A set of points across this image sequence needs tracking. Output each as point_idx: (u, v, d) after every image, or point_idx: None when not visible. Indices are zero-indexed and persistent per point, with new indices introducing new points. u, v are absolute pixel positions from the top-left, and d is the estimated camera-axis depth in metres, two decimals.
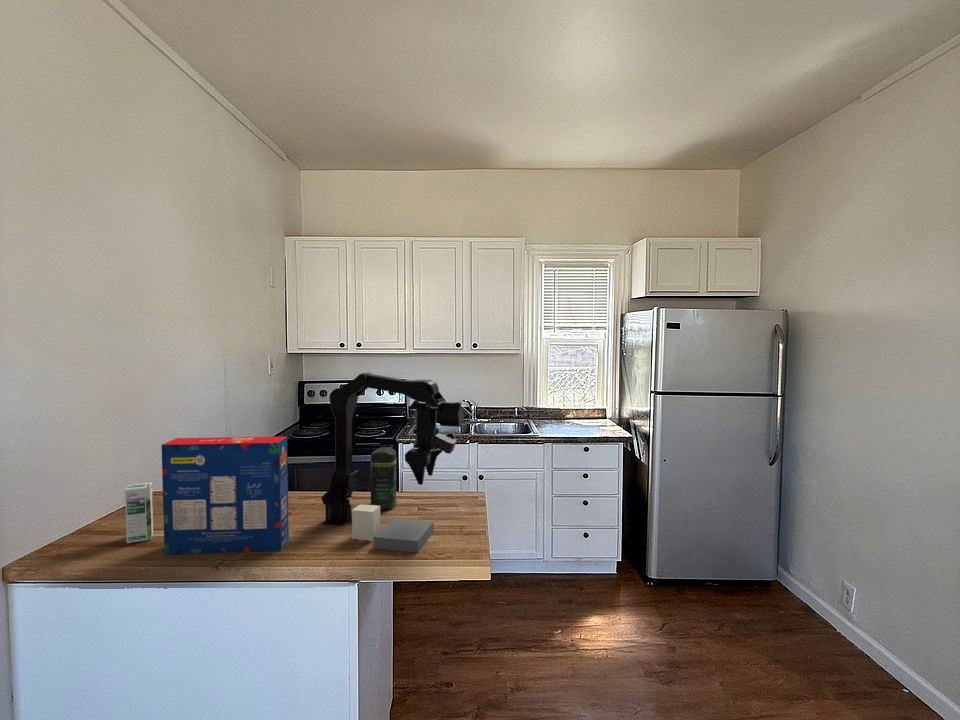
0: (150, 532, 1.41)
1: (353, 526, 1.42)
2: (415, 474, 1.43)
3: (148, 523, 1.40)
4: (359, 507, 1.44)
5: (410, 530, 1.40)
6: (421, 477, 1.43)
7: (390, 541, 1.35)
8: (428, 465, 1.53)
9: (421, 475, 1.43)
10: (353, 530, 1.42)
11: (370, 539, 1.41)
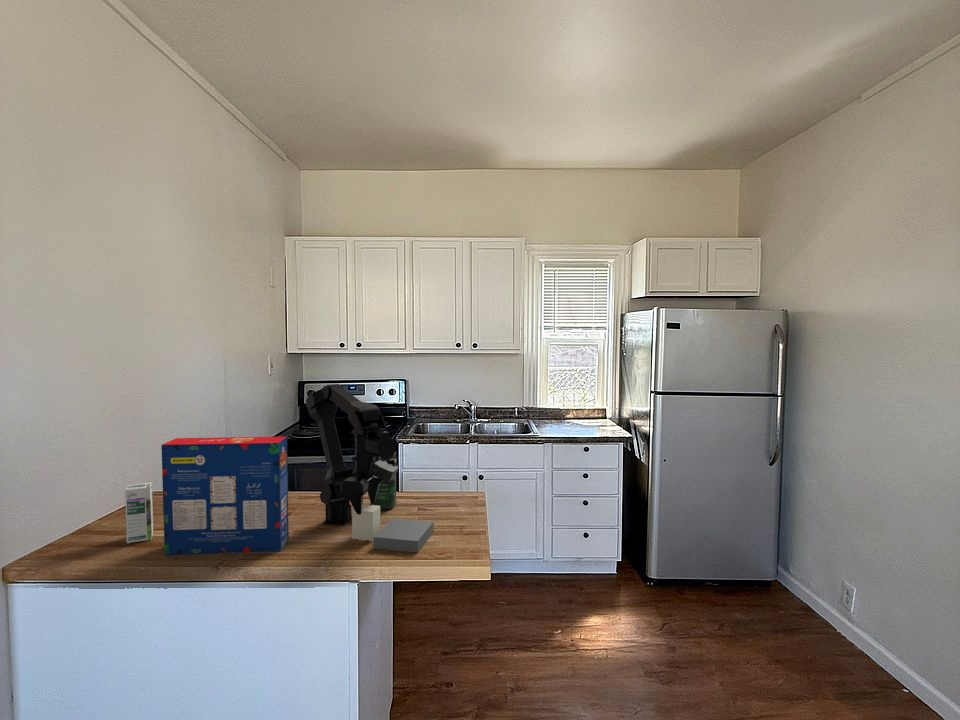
0: (150, 532, 1.41)
1: (353, 526, 1.42)
2: (353, 503, 1.38)
3: (148, 523, 1.40)
4: None
5: (410, 530, 1.40)
6: (359, 507, 1.38)
7: (390, 541, 1.35)
8: (370, 492, 1.48)
9: (359, 505, 1.38)
10: (353, 530, 1.42)
11: (370, 539, 1.41)
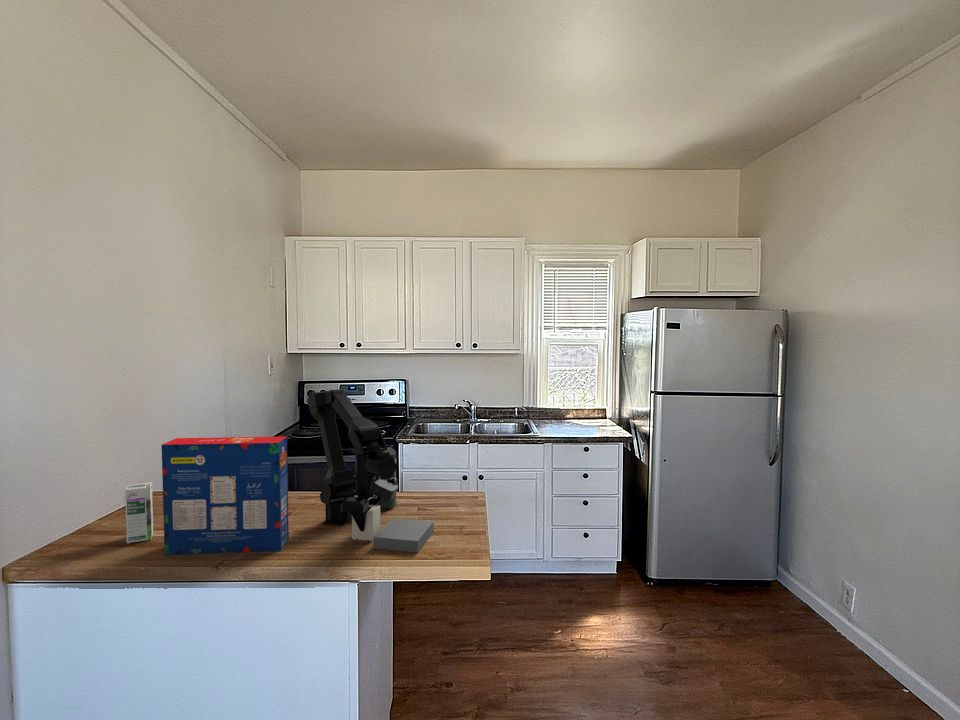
0: (150, 532, 1.41)
1: (353, 526, 1.42)
2: (357, 520, 1.40)
3: (148, 523, 1.40)
4: None
5: (410, 530, 1.40)
6: (362, 524, 1.40)
7: (390, 541, 1.35)
8: None
9: (362, 522, 1.40)
10: (353, 530, 1.42)
11: (370, 539, 1.41)
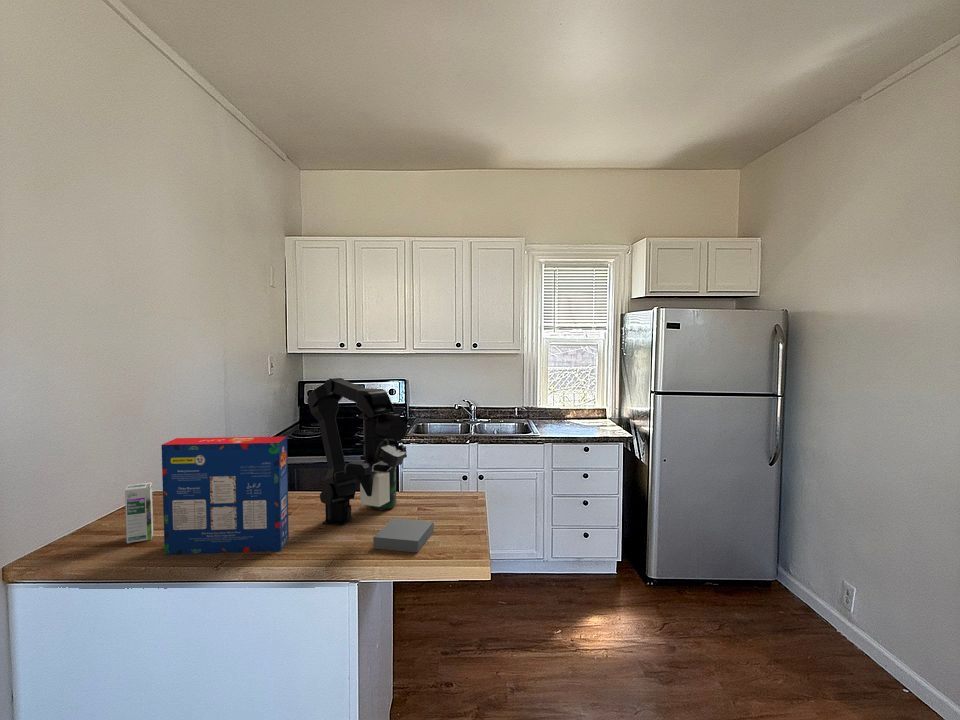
0: (150, 532, 1.41)
1: (361, 491, 1.41)
2: (363, 485, 1.39)
3: (148, 523, 1.40)
4: None
5: (410, 530, 1.40)
6: (368, 489, 1.39)
7: (390, 541, 1.35)
8: None
9: (368, 486, 1.39)
10: (361, 495, 1.41)
11: (376, 505, 1.40)
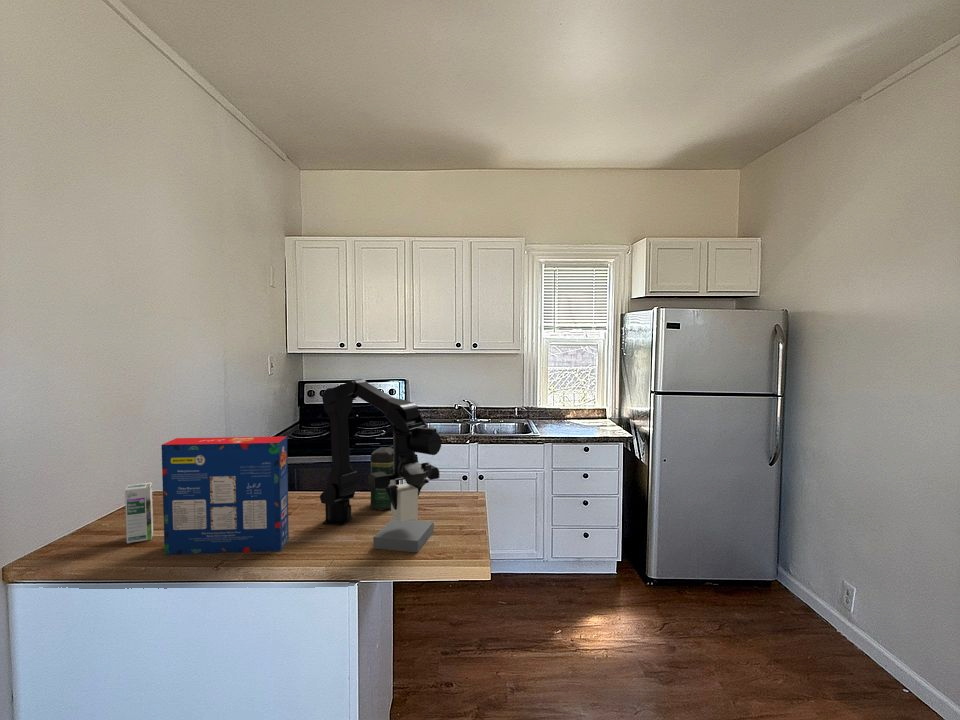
0: (150, 532, 1.41)
1: None
2: (389, 497, 1.40)
3: (148, 523, 1.40)
4: (401, 485, 1.43)
5: (410, 530, 1.40)
6: (393, 502, 1.39)
7: (390, 541, 1.35)
8: None
9: (392, 500, 1.39)
10: (391, 506, 1.42)
11: (399, 519, 1.38)
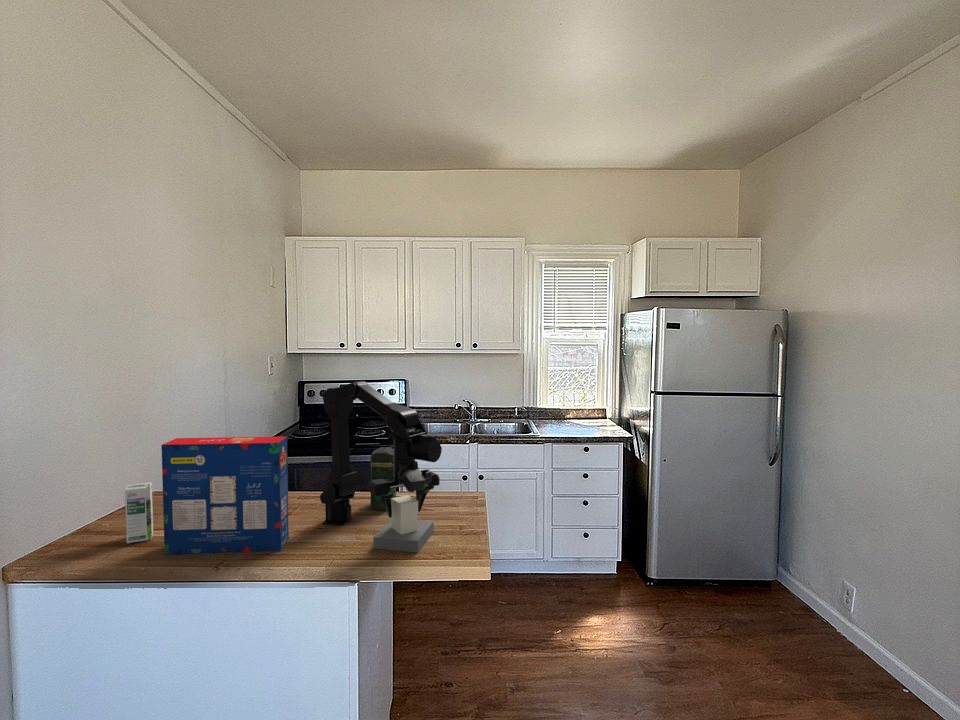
0: (150, 532, 1.41)
1: None
2: (384, 505, 1.39)
3: (148, 523, 1.40)
4: (401, 497, 1.43)
5: None
6: (387, 510, 1.38)
7: (390, 541, 1.35)
8: (417, 500, 1.44)
9: (387, 508, 1.38)
10: (391, 518, 1.42)
11: (399, 532, 1.38)
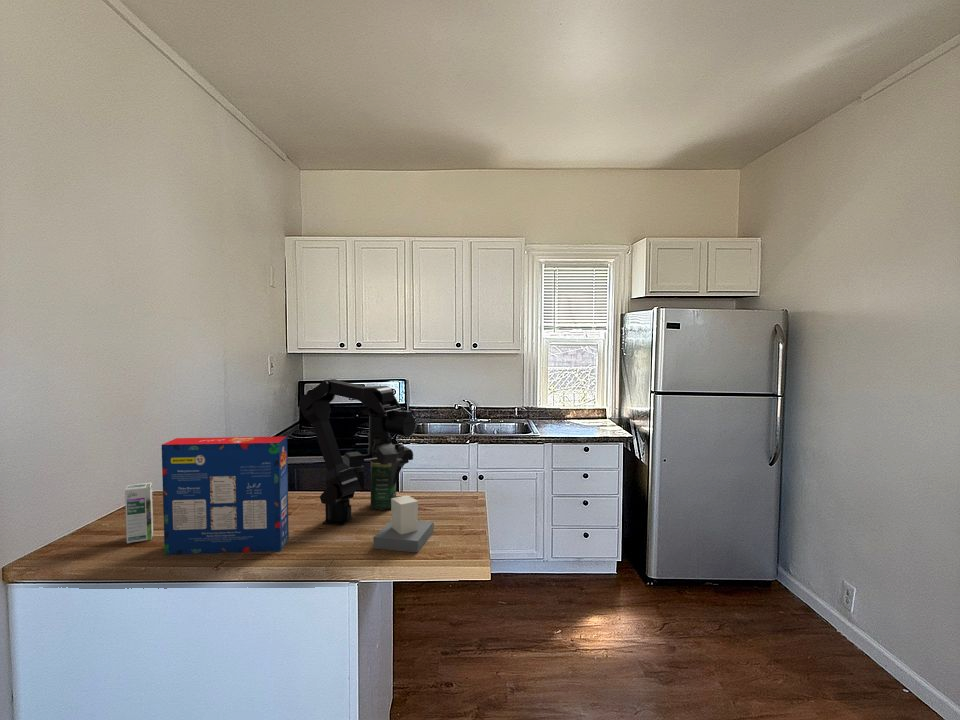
0: (150, 532, 1.41)
1: (391, 514, 1.42)
2: (357, 477, 1.45)
3: (148, 523, 1.40)
4: (401, 497, 1.43)
5: None
6: (360, 482, 1.44)
7: (390, 541, 1.35)
8: (393, 473, 1.50)
9: (359, 480, 1.44)
10: (391, 518, 1.42)
11: (399, 532, 1.38)
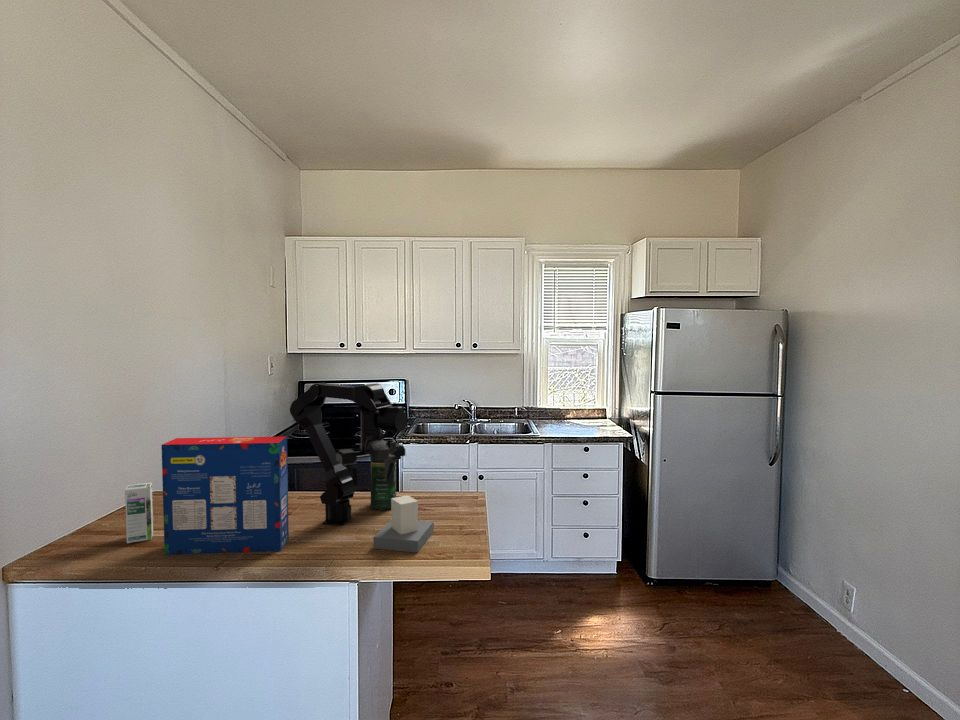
0: (150, 532, 1.41)
1: (391, 514, 1.42)
2: (350, 474, 1.47)
3: (148, 523, 1.40)
4: (401, 497, 1.43)
5: None
6: (353, 478, 1.46)
7: (390, 541, 1.35)
8: (385, 470, 1.52)
9: (353, 476, 1.46)
10: (391, 518, 1.42)
11: (399, 532, 1.38)
